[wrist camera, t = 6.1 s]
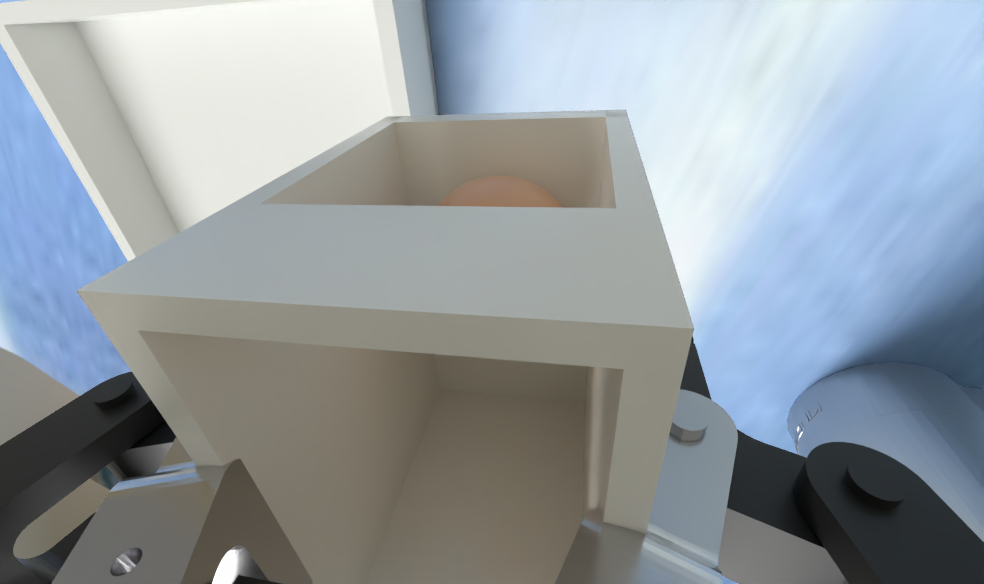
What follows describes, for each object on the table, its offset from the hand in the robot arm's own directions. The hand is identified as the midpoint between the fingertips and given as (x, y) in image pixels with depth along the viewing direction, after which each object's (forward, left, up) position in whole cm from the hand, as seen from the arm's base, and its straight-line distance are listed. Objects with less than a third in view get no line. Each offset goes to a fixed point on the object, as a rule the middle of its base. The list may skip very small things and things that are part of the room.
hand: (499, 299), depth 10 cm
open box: (0, 0, -1) cm, 1 cm away
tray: (+16, +2, -14) cm, 22 cm away
